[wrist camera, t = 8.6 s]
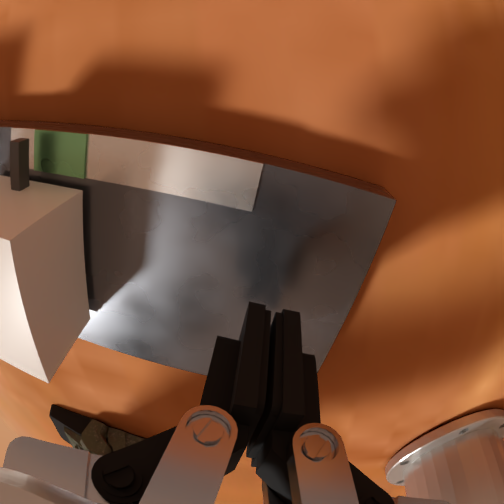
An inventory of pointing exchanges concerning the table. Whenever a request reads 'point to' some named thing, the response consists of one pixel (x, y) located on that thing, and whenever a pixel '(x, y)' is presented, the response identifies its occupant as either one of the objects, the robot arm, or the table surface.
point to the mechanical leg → (89, 432)
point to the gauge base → (204, 237)
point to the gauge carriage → (39, 269)
